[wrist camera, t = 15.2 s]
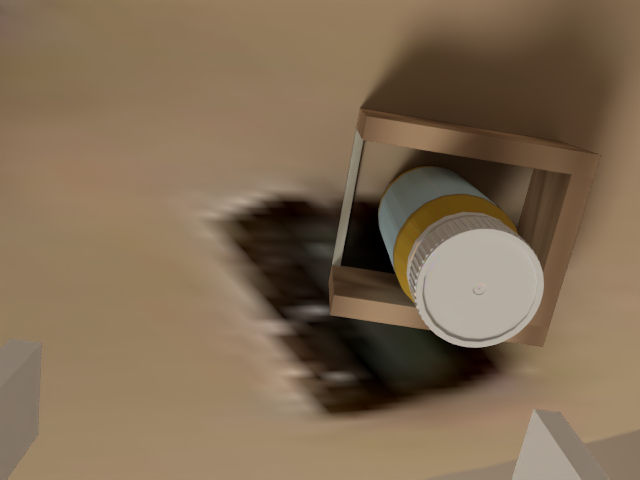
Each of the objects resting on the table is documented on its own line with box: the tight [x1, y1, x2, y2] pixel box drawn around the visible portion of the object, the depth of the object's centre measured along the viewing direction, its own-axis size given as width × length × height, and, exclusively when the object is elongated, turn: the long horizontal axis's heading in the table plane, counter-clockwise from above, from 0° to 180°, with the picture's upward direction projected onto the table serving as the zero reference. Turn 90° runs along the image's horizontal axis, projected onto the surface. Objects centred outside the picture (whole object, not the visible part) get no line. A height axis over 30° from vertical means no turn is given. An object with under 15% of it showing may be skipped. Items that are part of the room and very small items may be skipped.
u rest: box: [329, 108, 601, 347], centre depth 39 cm, size 14×13×6 cm
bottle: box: [378, 166, 544, 347], centre depth 35 cm, size 7×7×15 cm
